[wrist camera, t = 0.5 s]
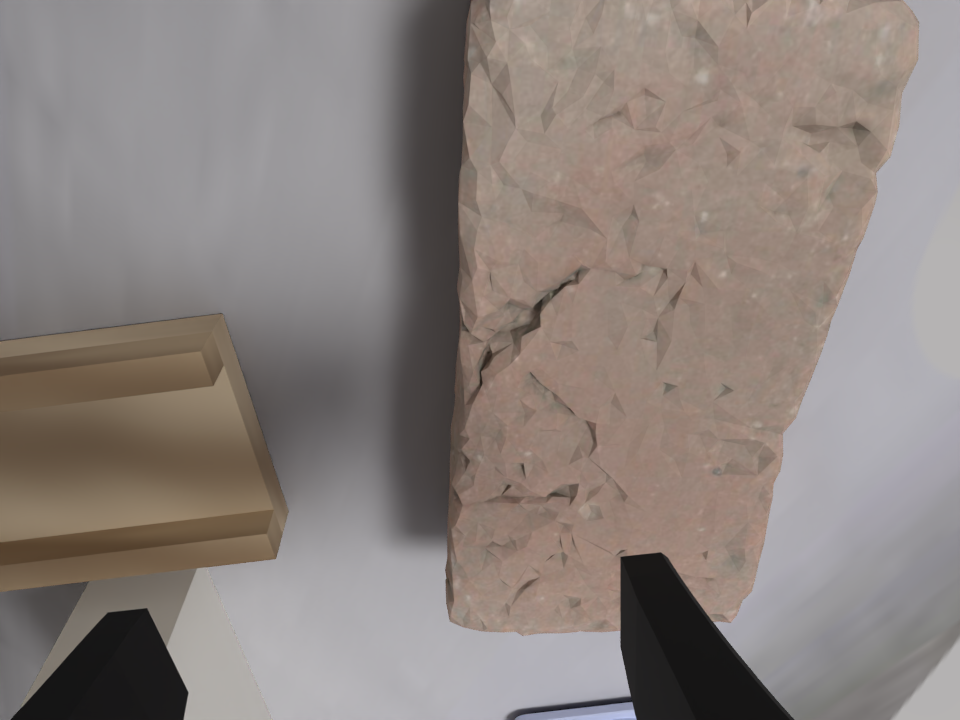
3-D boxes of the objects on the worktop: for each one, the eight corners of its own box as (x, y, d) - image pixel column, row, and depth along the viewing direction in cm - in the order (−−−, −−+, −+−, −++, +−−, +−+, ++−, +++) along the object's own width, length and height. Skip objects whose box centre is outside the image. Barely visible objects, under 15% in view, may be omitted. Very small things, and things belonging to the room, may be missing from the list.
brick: (460, -57, 15) (468, -54, 11) (841, -37, 16) (981, -26, 12) (444, 522, 24) (445, 644, 20) (692, 522, 24) (743, 640, 20)
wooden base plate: (288, 511, 22) (275, 559, 21) (-56, 552, 23) (-97, 603, 21) (222, 313, 19) (200, 351, 17) (-186, 364, 19) (-248, 407, 17)
